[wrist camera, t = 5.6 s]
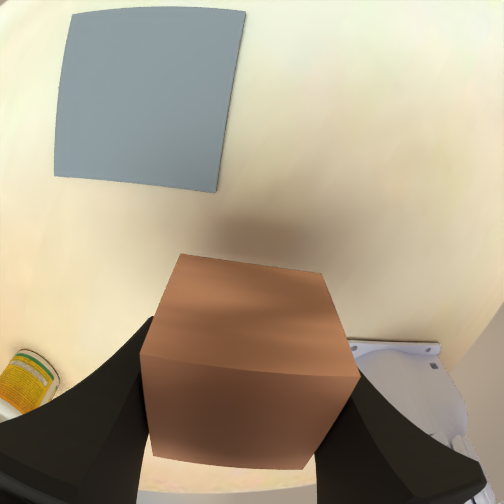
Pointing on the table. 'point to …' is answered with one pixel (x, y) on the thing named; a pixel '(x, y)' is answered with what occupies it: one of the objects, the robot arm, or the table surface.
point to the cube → (244, 365)
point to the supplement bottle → (26, 385)
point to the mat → (147, 95)
